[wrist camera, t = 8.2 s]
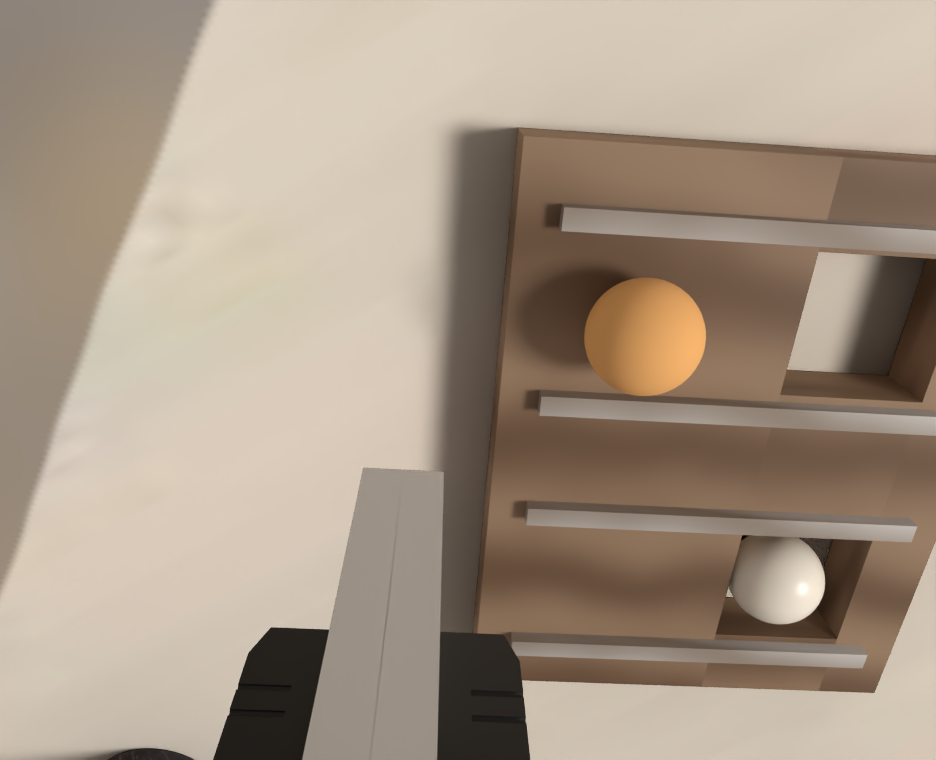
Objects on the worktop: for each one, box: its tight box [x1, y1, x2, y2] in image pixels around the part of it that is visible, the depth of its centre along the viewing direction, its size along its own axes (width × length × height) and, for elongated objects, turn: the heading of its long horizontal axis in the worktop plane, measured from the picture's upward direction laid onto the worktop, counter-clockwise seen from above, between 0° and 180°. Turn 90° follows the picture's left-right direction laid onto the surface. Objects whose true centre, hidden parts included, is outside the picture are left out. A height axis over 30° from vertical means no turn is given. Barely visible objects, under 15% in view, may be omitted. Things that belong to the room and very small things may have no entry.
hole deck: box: [473, 128, 936, 693], centre depth 30 cm, size 24×19×3 cm
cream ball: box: [729, 535, 825, 624], centre depth 33 cm, size 4×4×4 cm
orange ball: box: [584, 278, 706, 396], centre depth 25 cm, size 4×4×4 cm
